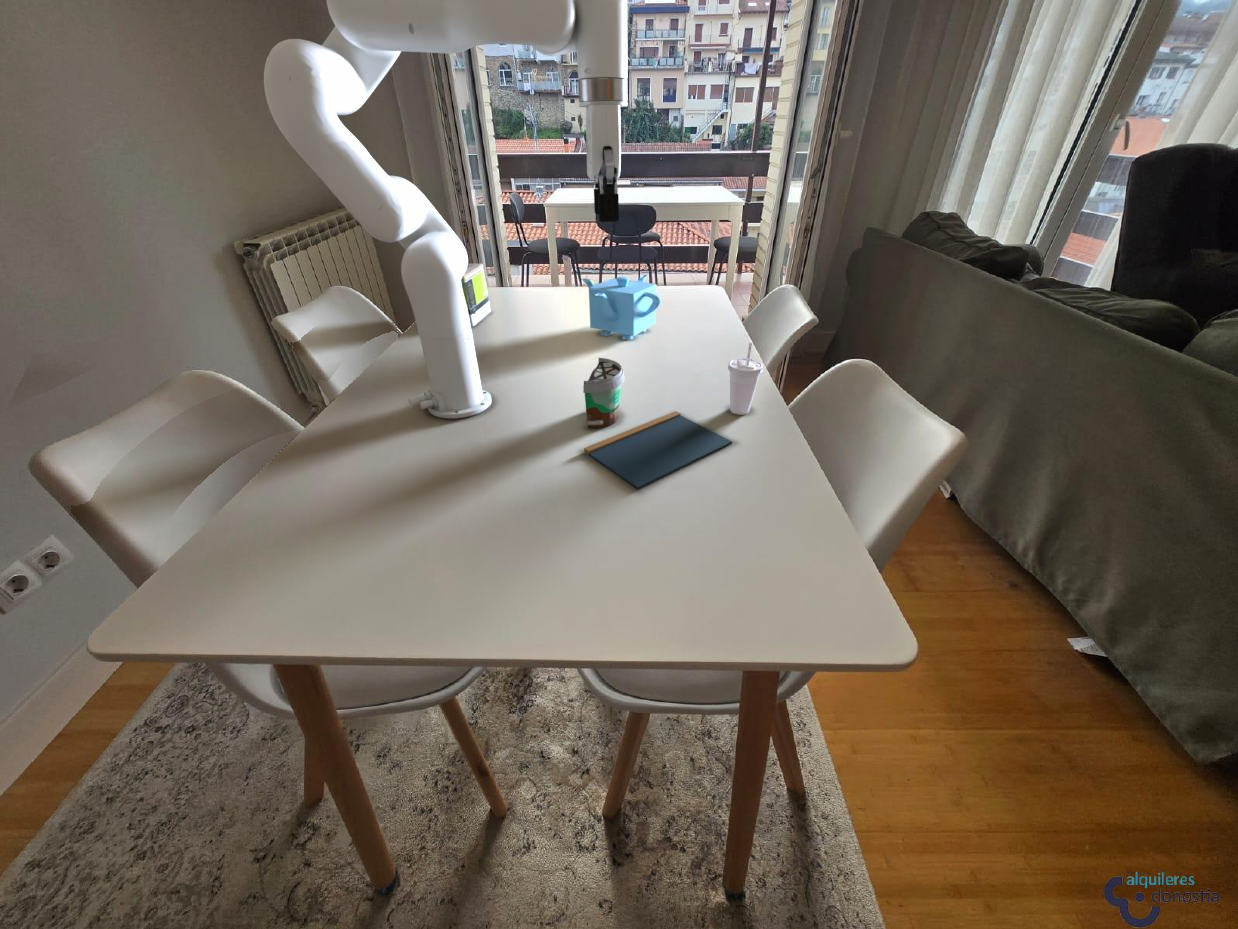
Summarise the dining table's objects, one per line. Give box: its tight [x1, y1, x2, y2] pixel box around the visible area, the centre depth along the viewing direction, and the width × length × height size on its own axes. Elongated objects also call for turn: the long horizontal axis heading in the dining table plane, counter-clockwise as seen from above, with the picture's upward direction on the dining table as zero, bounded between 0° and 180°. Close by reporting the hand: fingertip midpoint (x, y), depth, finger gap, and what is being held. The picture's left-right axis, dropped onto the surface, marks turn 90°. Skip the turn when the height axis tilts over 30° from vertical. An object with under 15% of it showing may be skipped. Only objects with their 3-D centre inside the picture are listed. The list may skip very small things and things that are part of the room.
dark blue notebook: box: [583, 410, 733, 490], centre depth 89 cm, size 22×14×1 cm, turn 129°
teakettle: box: [581, 274, 662, 341], centre depth 137 cm, size 19×19×15 cm
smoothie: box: [727, 342, 764, 416], centre depth 97 cm, size 6×6×14 cm
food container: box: [582, 357, 626, 429], centre depth 96 cm, size 12×6×10 cm, turn 168°
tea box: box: [461, 263, 492, 328], centre depth 149 cm, size 15×10×15 cm, turn 172°
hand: (606, 217), depth 88 cm, fingers open, 9 cm apart
